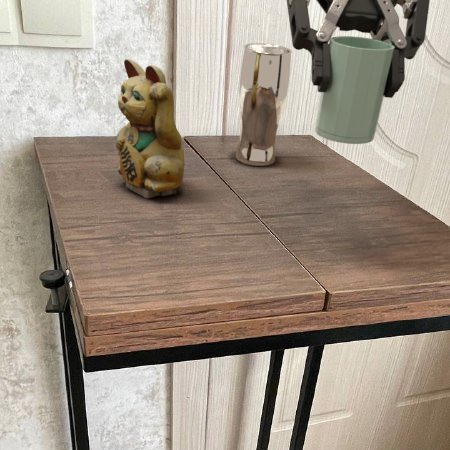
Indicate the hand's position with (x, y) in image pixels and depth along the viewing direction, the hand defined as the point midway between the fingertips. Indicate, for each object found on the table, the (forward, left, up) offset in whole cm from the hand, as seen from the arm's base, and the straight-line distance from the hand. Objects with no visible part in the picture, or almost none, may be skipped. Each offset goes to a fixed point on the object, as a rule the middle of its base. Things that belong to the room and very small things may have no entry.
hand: (358, 89), depth 60 cm
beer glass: (+5, -32, -18) cm, 37 cm away
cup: (0, -2, -5) cm, 5 cm away
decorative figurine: (+20, -18, -18) cm, 32 cm away
